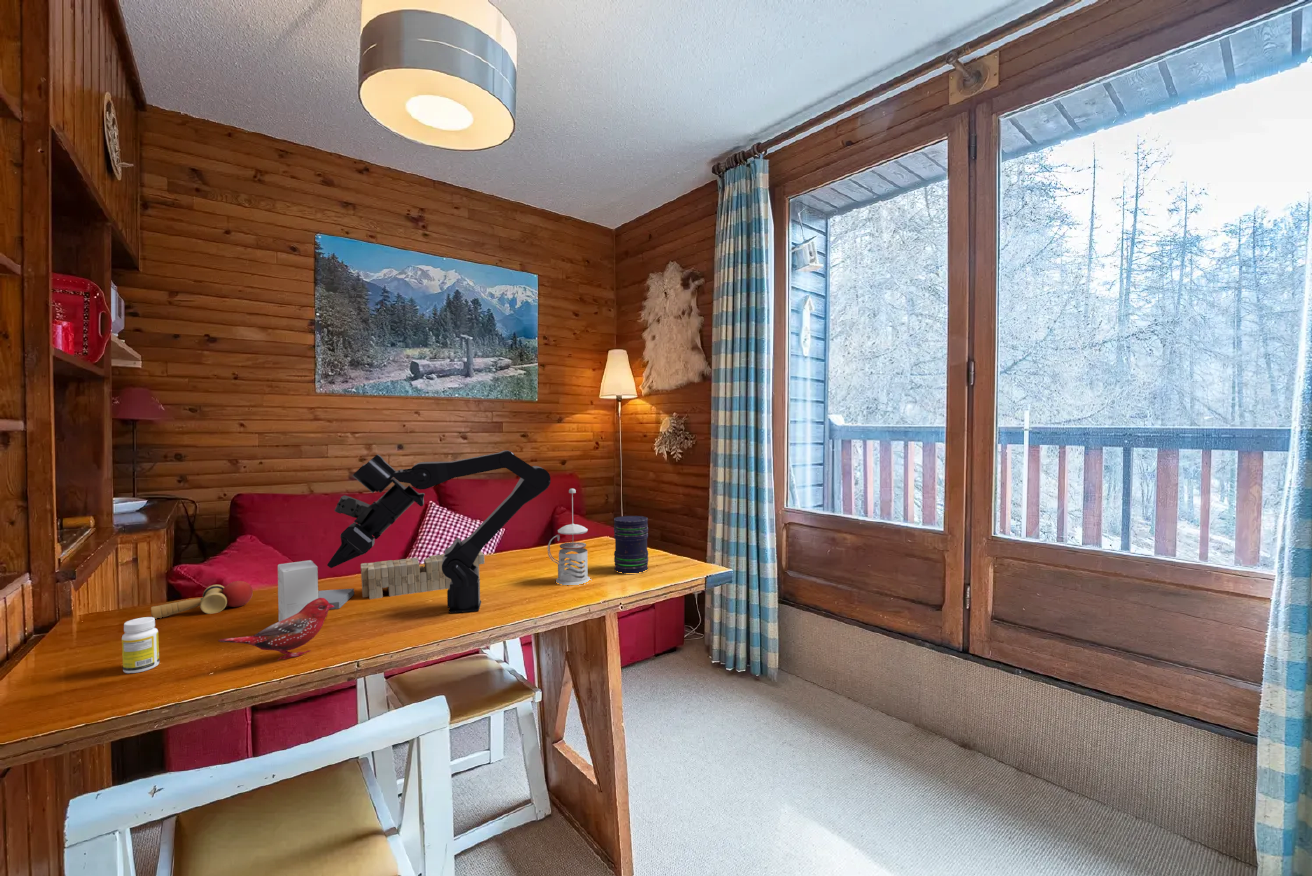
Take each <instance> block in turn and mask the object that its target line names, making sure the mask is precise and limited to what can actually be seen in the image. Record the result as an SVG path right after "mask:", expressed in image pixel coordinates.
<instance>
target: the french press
mask: <svg viewBox="0 0 1312 876" xmlns="http://www.w3.org/2000/svg"><path fill="white" fill-rule="evenodd" d="M576 491H577V490H576V489H575V488H569V490H568V494H571V516H572V519H571V520H572V523H570V524H566V525H563V526H562V527H560V528H559V529H557V533H558V534H556V535H555V536H553V537H552V538H551V539H550V540H549V542H548V544H547V555H548V557H549V559H550V560H551V562H554V563H555V564H557V576H558V577H557V578H556V579H555V580H556V582H557V583H559V584H562V585H579V584H583V583H586V582H588V581H589V580H591V581H592V578H591V577H590V576H588V575H589V574H588V573H589V572H588V549H586V547H587V543H586V542H585V543H584V542H581V541H578V542H575V541H570V542H565V543H561V544H559V548H561V549H560V550H558V560H557V559H555V558H554V557H553V555H552V554H551V543H552V541H553V540H554V539H555V538H557V541H558V542H559V541H560V539H561V537H560V536H561V535H572V538H571V539H572V540H574V535H583V534H586V533H588V530H589V529H588V528H586V527H585V526H583V525H581V524H575V523H574V497H573V496H574V494H576V493H577V492H576ZM560 534H561V535H560ZM569 552H574V553H569ZM574 566H576V567H574ZM590 578H591V579H590ZM562 585H561V586H562ZM579 586H580V585H579Z"/></svg>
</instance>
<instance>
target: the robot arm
mask: <svg viewBox="0 0 1312 876" xmlns="http://www.w3.org/2000/svg"><path fill="white" fill-rule="evenodd" d="M500 469H506V470H509V471H510V472H512V473H513V474H514V475H516V476H518V477H519V479H518V481H517V483H516V485H515V486H514V488H513V490H512V491H511V493H510V494H509V495H508V496H507V497H506V498H505V499H504V500H503V501H502V502H501V503H500V504H499V505H498V506H497V507H496V508H495V509H494V510H493V512H492V513H491V514H489V515H488V517H487V518H486V519H485V520H484V521H483V522H482V523H481V524H480V525H479V526H478V527H477V528H476V529H475V530H474V531H473V532H472V533H471V534H470V535H469V536H468V537H466V538H465V539H463V540H461V539H460V538H459V537H456V538H455V540H454V541H453V543H452V544H451V545H450V546H448V547H446V548H444V553H443V554H444V556H443V560H442V571H443V574H444V575H445V576H446V577H448V578H450V579H451V583H450V587H449V588H448V589H447V590H446V596H447V597H446V599H447V600H446V601H447V609H448V613H449V614H453V613H454V614H455V613H456V614H457V613H468V612H478V611H480V607H481V604H482V600H481V591H480V589H481V588H480V586H481V585H480V583H481V580H480V579H481V578H480V579H478V578H479V576H480V575H479V576H478V568H477V567H476V566H475V565H474V564H473V563H474V561H475V559H476V558H477V556H478V554H479V552H480V551H481V552H482V549H483V548H484V547H485V546H486V545H487V544H488V543H489V542H490V541H491V540H492V539H493V538H494V537H495V536H496V534H498V533H499V531H500V530H501V529H503V527H504V526H505V525H506V524H507V523H508V522H509V521H510V520H511V519H512V518H513V517H514V516H515V514H516V513H518V512H519V510H520V509H522V507H524V506H525V504H526V503H528V502H530V501H532V500H533V499H535V498H537V497H538V496H540V494H543V492H545V491H546V490H547V489H548V488H549V486H550V485H551V480H552V479H551V474H550V473H549V471H547V469H545V468H543V467H541V466H538V465H533V466H532V465H530V464H529V463H527V461H524V460H523V459H521V458H519V457H518V456H517V455H515V453H513V452H512V451H510V450H502V451H499V452H495V453H490V454H485V455H479V456H474V457H469V458H463V459H458V460H451V461H422V462H421V461H420V462H418V463H415V464H414V465H413V466H412V467H411V468H410V467H409V468H405V469H403V468H401V469H399V470H398V469H397V470H396V469H395V468H394V467H393V466H391V465H390V464H389V463H388V462H387V461H386V460H385V459H384V457H383V456H381V455H380V454H376V455H374V456H373V457H372V458H371V459H370V460H368V461H367V462H366V463H365V464H363V465H362V466H360V467H359V468H358V469H357V470H356V471H355V472H354V473H353V474H352V477H353V478H354V480H355V479H356V481H357V482H359V483H360V484H361V485H362V486H363V487H364V488H366V489H367V490H368V491H370V492H371V493H372V494H374V493H375V492H376V493H378V492H379V493H380V494H381V493H382V492H384V491H385V489H386V488H388V487H389V486H390V485H391V484H393V485H392V486H391V487H390V488H389V489H388V490H387V491H386V492H385V493H383V495H381V497H379V498H378V500H376V501H375V500H374V501H373V502H372V503H371V504H369V503H367V502H365V501H362V500H360V499H357V498H354V497H352V496H348V495H342V496H341V497H340V498H339V500H338V502H337V503H336V506H335V508H334V512H335V513H338V514H343V515H345V516H349V517H350V518H351V517H352V518H354V520H353V523H350V524H349V525H348V526H347V528H345V529H344V530H343V531H342V532H340V536H339V537H340V546H339V548H337V550H336V552H334V554H333V556H331V558H330V560H329V561H328V563H326V565H327V567H328V568H330V569H332V568H335V567H338V566H340V565H341V564H343V563H346V562H348V561H351V560H352V559H355V558H358V557H360V556H363V555H365V554H366V553H368V552H369V551H370V550H371V549H372V548H373V547H374V545H375V540H377V539H379V538H380V536H382V534H383V533H384V532H385V531H386V530H387V529H388V528H389V527H390V526H391V525H393V524H394V523H395V522H396V521H397V519H398V518H399V517H401V516H402V514H404V512H406V510H408V509H409V508H410V507H411V506H412V505H413V504H415V503H416V504H417V505H418V507H419V506H420V507H423V506H424V504H425V500H424V499H425V498H424V497H425V493H424V492H420V493H419V492H418V491H417V490H420V491H422V490H427V489H430V488H432V487H435V486H437V485H441V484H443V483H445V482H448V481H450V480H452V479H454V478H455V479H456V478H460V477H466V476H469V475H475V474H481V473H486V472H490V471H491V472H492V471H495V470H500ZM402 483H405V484H408V486H405V485H404V484H402ZM409 484H410V485H409ZM415 489H416V490H415Z"/></svg>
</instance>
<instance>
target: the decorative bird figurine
mask: <svg viewBox="0 0 1312 876" xmlns="http://www.w3.org/2000/svg"><path fill="white" fill-rule="evenodd" d="M332 607H334V606H333V605H331V604H329V603H328V601H327V600H326V599H325V598H318V599H315V600H313V601H312V602H310V603H308V604H307V605H306V606H305V607H304V608H303V609H302V610H301V611H300V612H298V613H297V614H295V615H293V616H291V617H289V618H287V619H284V620H282V621H279V620H278V622H275V623H273V624H271V625H269V626H267V627H265V628H264V629H262V630H260V631H258V632H257V633H255V634H254V635H251V636H249V635H248V636H240V637H230V638H220V639H218V640H217V641H218V642H220V643H234V644H247V645H251V646H253V647H256V648H258V649H260V650H263V651H274V652H279V653H281V654H285V655H283V656H280V657H279V658H278V659H277V661H279V660H281V659H282V660H285V659H286V660H287V659H290V658H297V657H300V656H302V655H304V654H306V653H309V652H310V650H306V651H298V652H292V650H295V649H297V648H300V647H302V646H304V645H306V644H308V643H309V642H310V641H312V639H314V638H315V637H316V636H317V635H318V633H319V632H320V631H321V629H322V627H323V625H324V622H325V620H326V617H328V613H329V610H331V609H330V608H332Z"/></svg>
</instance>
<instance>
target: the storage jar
mask: <svg viewBox="0 0 1312 876" xmlns="http://www.w3.org/2000/svg"><path fill="white" fill-rule="evenodd" d="M648 519H649V518H648V517H646V516H643V515H622V516H621V515H620V516H617V517H614V525H613V532H614V533H613V536H614V537H613V538H614V542H615V544H614V545H615V547H614V552H613V556H614V557H613V562H614V571H615V570H616V571H618V572H622V573H639V572H643V571H645V570H647V569H648V570H649V567H648V565H649V563H648V562H649V551H648V538H649V533H648V532H649V527H648V526H649V525H648V524H649V523H648Z"/></svg>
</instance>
